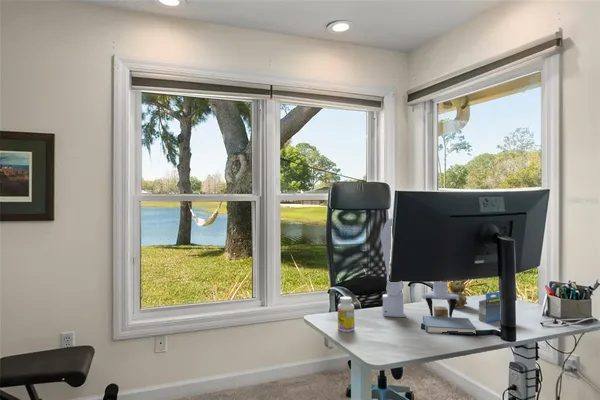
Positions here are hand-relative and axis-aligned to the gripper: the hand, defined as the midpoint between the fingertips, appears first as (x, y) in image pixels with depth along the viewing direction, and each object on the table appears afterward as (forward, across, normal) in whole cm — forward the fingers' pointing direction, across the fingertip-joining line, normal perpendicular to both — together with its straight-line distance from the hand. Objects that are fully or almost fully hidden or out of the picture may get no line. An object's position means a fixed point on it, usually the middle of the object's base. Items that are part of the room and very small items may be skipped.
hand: (440, 316), depth 159 cm
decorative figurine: (+2, +10, +22) cm, 24 cm away
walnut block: (+2, 0, 0) cm, 2 cm away
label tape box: (+2, +20, +2) cm, 20 cm away
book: (+2, +1, -11) cm, 11 cm away
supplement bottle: (+2, -39, -20) cm, 44 cm away
